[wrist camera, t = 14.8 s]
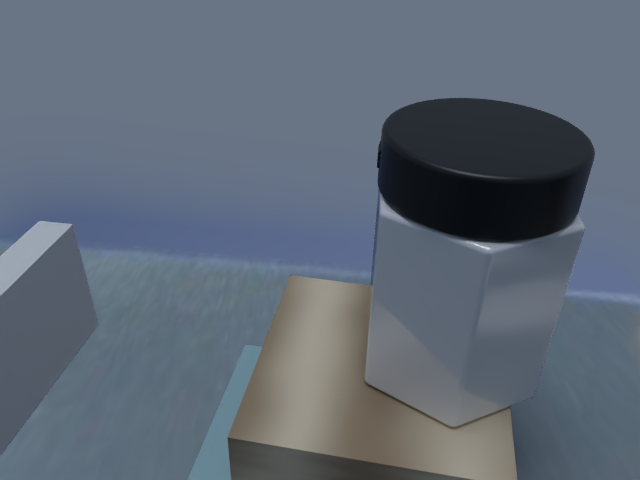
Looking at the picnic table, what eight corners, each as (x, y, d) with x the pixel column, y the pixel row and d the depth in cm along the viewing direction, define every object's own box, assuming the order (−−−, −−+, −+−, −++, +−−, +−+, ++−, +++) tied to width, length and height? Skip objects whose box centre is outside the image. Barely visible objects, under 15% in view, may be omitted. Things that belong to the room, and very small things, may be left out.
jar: (468, 290, 35) (508, 86, 29) (572, 387, 29) (653, 154, 22) (327, 331, 32) (336, 110, 25) (410, 450, 26) (450, 198, 19)
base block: (481, 379, 37) (499, 302, 34) (491, 570, 27) (518, 487, 24) (290, 351, 39) (290, 275, 36) (234, 521, 29) (227, 437, 26)
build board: (496, 386, 37) (498, 381, 37) (514, 602, 27) (516, 597, 26) (245, 349, 40) (245, 344, 39) (167, 533, 29) (167, 528, 29)
